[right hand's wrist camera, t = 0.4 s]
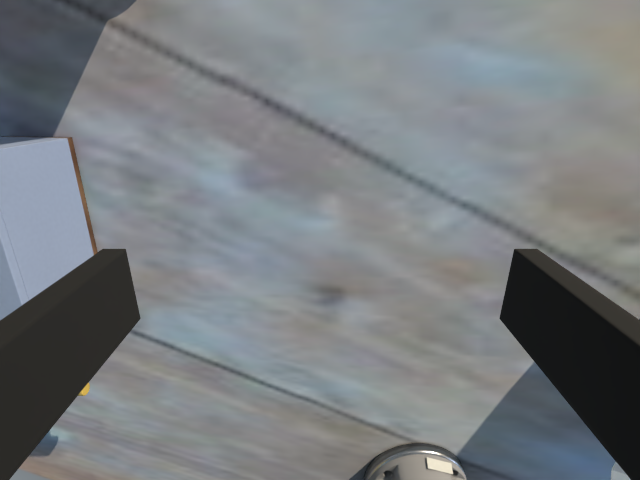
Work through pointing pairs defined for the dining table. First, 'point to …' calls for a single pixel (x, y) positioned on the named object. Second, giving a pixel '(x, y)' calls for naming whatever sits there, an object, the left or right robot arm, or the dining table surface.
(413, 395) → the dining table surface
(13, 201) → the cabinet
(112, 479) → the dining table surface
